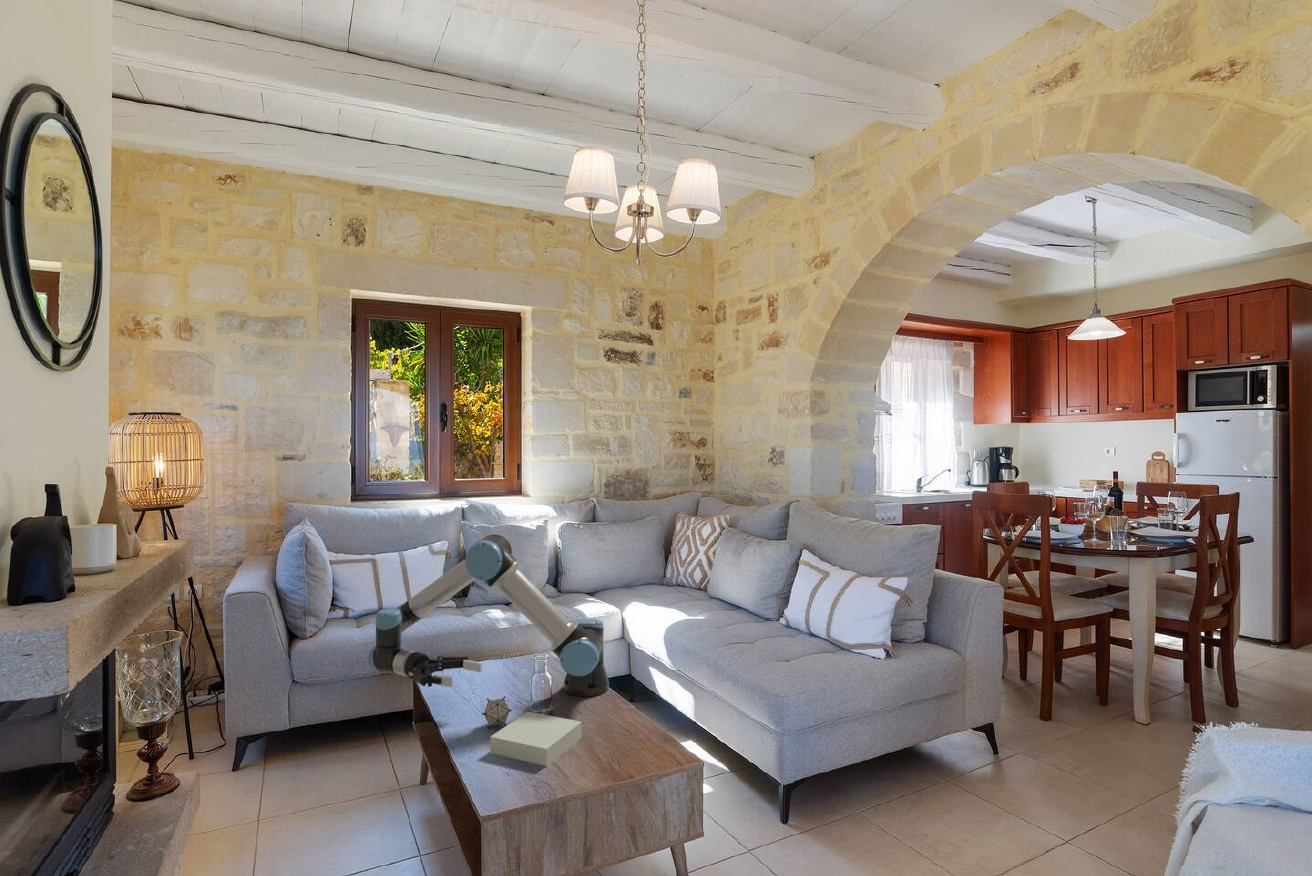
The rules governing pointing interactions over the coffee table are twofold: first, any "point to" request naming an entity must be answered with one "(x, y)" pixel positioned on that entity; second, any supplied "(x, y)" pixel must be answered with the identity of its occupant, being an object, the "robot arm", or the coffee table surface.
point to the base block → (536, 738)
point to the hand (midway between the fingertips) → (466, 674)
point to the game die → (496, 712)
